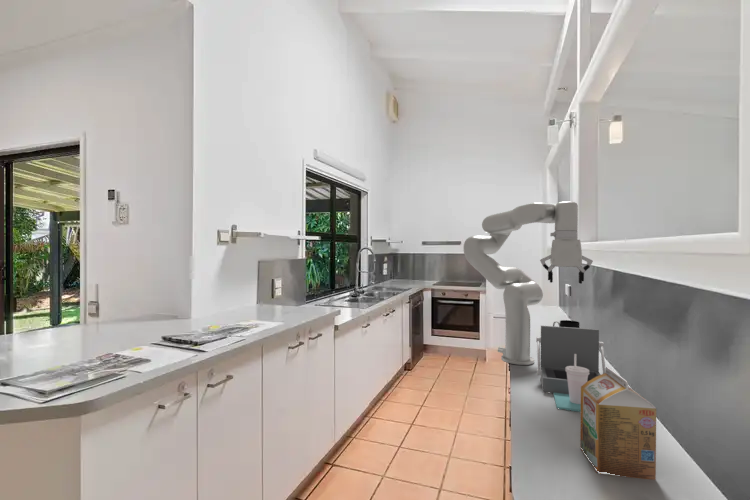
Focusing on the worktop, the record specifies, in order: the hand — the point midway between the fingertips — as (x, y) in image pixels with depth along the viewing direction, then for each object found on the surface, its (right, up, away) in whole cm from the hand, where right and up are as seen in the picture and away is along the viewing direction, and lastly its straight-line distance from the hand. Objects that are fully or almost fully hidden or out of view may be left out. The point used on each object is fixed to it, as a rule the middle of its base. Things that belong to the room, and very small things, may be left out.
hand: (565, 282), depth 146 cm
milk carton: (-18, -34, -61) cm, 72 cm away
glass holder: (+12, -34, +26) cm, 44 cm away
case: (-5, -33, -15) cm, 37 cm away
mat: (-10, -33, -29) cm, 45 cm away
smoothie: (-10, -33, -28) cm, 44 cm away
